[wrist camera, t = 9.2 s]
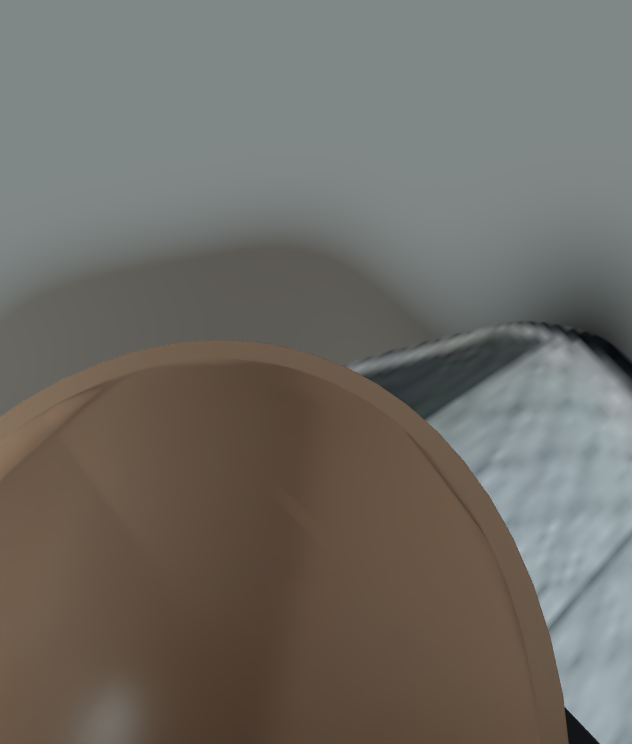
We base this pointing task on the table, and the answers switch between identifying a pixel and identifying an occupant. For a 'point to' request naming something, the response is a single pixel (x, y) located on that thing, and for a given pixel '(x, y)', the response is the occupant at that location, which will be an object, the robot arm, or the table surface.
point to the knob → (256, 564)
